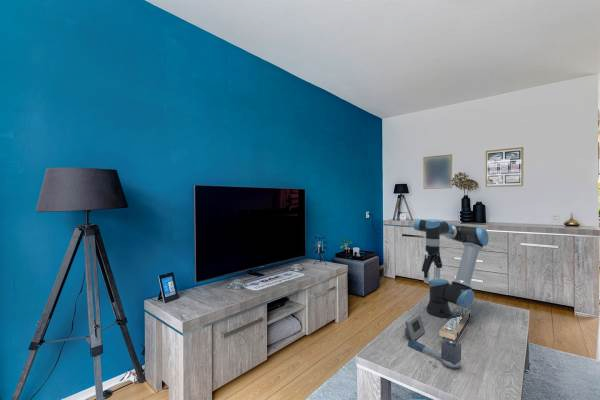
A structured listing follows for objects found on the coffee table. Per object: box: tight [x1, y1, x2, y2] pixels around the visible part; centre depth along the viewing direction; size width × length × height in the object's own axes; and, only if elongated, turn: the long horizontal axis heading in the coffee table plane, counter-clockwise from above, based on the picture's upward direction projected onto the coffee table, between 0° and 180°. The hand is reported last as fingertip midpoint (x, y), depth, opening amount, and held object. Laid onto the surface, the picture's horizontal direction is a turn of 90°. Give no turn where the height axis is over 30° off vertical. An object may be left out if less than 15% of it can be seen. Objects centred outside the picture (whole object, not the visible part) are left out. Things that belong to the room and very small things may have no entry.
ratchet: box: [407, 339, 462, 370], centre depth 143 cm, size 8×26×6 cm, turn 37°
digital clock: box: [404, 313, 426, 341], centre depth 163 cm, size 16×9×11 cm, turn 121°
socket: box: [440, 338, 462, 365], centre depth 136 cm, size 6×6×9 cm
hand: (432, 280), depth 166 cm, fingers open, 13 cm apart
